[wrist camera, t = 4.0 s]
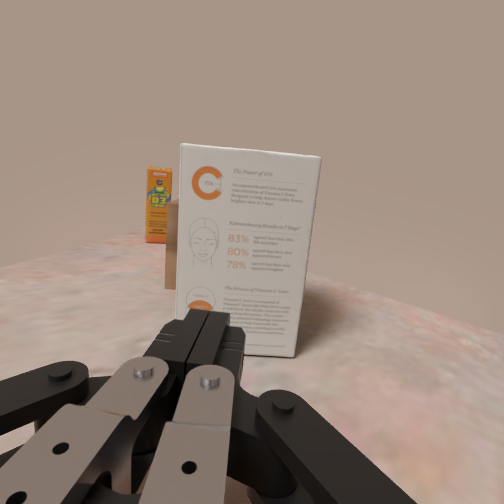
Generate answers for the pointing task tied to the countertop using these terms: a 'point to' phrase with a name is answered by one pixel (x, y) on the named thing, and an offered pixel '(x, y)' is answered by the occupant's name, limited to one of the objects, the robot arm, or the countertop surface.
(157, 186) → the supplement box
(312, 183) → the small box
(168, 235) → the walnut digit block
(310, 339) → the countertop surface
